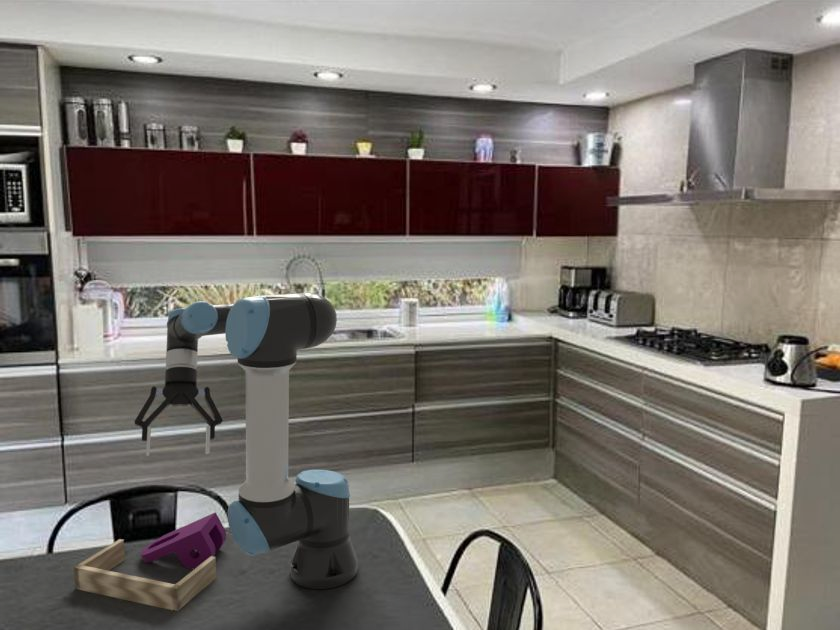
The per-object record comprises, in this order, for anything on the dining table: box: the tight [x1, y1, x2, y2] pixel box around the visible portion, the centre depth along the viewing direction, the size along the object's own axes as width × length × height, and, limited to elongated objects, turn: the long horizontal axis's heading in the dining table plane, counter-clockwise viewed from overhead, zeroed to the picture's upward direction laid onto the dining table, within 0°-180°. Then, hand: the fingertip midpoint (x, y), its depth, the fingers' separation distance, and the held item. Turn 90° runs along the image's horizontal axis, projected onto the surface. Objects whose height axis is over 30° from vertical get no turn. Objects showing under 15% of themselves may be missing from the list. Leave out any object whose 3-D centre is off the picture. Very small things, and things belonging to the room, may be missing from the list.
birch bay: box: [73, 538, 217, 612], centre depth 140 cm, size 26×13×5 cm, turn 72°
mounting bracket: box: [140, 511, 227, 569], centre depth 151 cm, size 10×8×18 cm
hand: (178, 454), depth 154 cm, fingers open, 13 cm apart
